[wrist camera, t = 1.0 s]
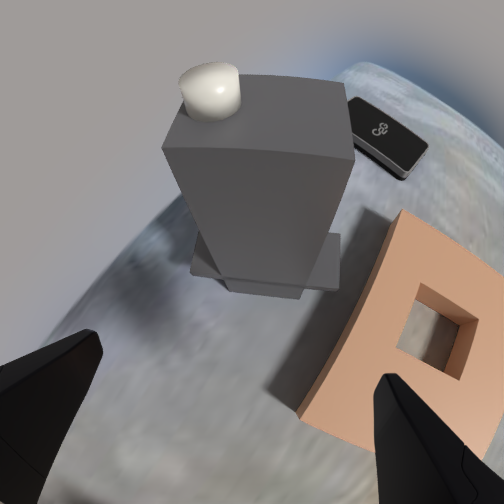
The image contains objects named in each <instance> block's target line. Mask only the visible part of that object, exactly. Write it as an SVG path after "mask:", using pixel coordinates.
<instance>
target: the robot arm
mask: <svg viewBox="0 0 504 504" xmlns="http://www.w3.org/2000/svg"><path fill="white" fill-rule="evenodd" d="M102 356H103V348H102V345H101V342H100V339H99V336H98V334H97V332H95V331H93V330H89V329H84V330H82V331H80V332H77V333H75V334H73V335H71V336H68V337H66V338H64V339H61V340H59V341H57V342H55V343H52V344H50V345H48V346H45V347H43V348H41V349H39V350H36V351H34V352H32V353H30V354H28V355H25V356H23V357H20V358H18V359H16V360H14V361H11V362H9V363H7V364H5V365H2V366H0V504H37V502H38V499H39V496H40V494H41V491H42V489H43V486H44V484H45V481H46V478H47V476H48V474H49V471H50V469H51V467H52V464H53V462H54V460H55V458H56V455H57V453H58V451H59V449H60V447H61V444H62V442H63V440H64V438H65V436H66V434H67V432H68V430H69V428H70V426H71V424H72V422H73V419H74V417H75V415H76V414H77V412H78V410H79V408H80V406H81V404H82V402H83V400H84V398H85V396H86V394H87V392H88V390H89V387H90V385H91V383H92V380H93V378H94V375H95V373H96V370H97V368H98V366H99V363H100V361H101V359H102ZM373 409H374V446H375V455H376V466H377V478H378V492H379V504H504V480H503V479H502V478H501V477H499V476H498V475H497V474H496V473H495V472H493V471H492V470H491V469H490V468H489V467H488V466H487V465H486V464H485V463H483V462H482V461H481V460H480V459H479V458H478V457H477V456H476V455H475V454H474V453H473V452H472V451H471V450H470V448H469V447H468V446H467V445H464V442H463V441H462V440H461V439H460V438H459V437H458V436H457V435H456V434H455V433H454V432H453V431H452V430H451V429H450V427H449V426H448V425H447V424H446V423H445V422H444V421H443V420H442V419H441V418H440V417H439V416H438V415H437V414H436V413H435V412H434V411H433V410H432V409H431V408H430V407H429V406H428V405H427V404H426V403H425V402H424V401H423V399H422V398H421V397H420V396H419V395H418V394H417V393H416V392H415V391H414V390H413V389H412V388H411V387H410V386H409V385H408V384H407V383H406V382H405V381H404V380H403V379H402V378H401V377H400V376H399V375H398V374H397V373H384V374H383V375H382V377H381V379H380V381H379V383H378V384H377V386H376V388H375V391H374V394H373Z"/></svg>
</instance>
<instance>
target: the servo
mask: <svg viewBox="0 0 504 504" xmlns="http://www.w3.org/2000/svg"><path fill="white" fill-rule="evenodd" d="M179 86H180V90H181V93H182V97H183V100H184V101H183V103H182V105H181V107H180V109H179V111H178V113H177V115H176V117H175V119H174V121H173V123H172V125H171V128H170V130H169V132H168V134H167V137H166V139H165V141H164V143H163V145H162V150H163V152H164V155H165V156H166V159H167V161H168V163H169V166H170V168H171V170H172V173H173V175H174V177H175V179H176V181H177V183H178V186H179V188H180V190H181V192H182V194H183V197H184V199H185V201H186V203H187V205H188V207H189V209H190V212H191V214H192V216H193V218H194V220H195V222H196V224H197V226H198V228H199V232H198V237H197V241H196V245H195V250H194V254H193V259H192V263H191V268H190V273H191V274H192V276H199V277H206V278H214V279H222V280H224V281H225V283H226V285H227V287H228V289H229V291H230V292H237V293H245V294H253V295H262V296H271V297H280V298H290V299H300V297H301V294H302V292H303V290H304V289H313V290H323V291H334V292H337V290H338V289H339V279H340V234H337V233H329V232H328V231H329V229H330V226H331V224H332V221H333V219H334V216H335V214H336V211H337V209H338V206H339V203H340V201H341V198H342V196H343V193H344V190H345V188H346V185H347V182H348V179H349V177H350V174H351V171H352V168H353V166H354V163H355V153H354V144H353V137H352V130H351V123H350V116H349V110H348V104H347V98H346V93H345V87H344V83H340V82H333V81H326V80H318V79H310V78H300V77H289V76H274V75H238V70H237V68H236V67H235V66H233V65H231V64H228V63H222V62H212V63H206V64H202V65H198V66H196V67H193V68H191V69H189V70H188V71H186V72H185V73H184V74H183V75H182V76H181V77H180V79H179Z"/></svg>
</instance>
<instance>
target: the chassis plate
mask: <svg viewBox="0 0 504 504" xmlns="http://www.w3.org/2000/svg"><path fill="white" fill-rule="evenodd" d="M415 299H416V300H418V301H420V302H421V303H423V304H425V305H426V306H428V307H430V308H431V309H433V310H435V311H436V312H438V313H440V314H441V315H443V316H445V317H446V318H448V319H450V320H451V321H453V322H455V323H456V324H458V325H459V326H460V327H459V330H458V333H457V336H456V339H455V342H454V345H453V348H452V351H451V354H450V357H449V359H448V362H447V365H446V367H445V370H444V372H441V371H439V370H437V369H435V368H434V367H432V366H430V365H428V364H426V363H424V362H422V361H420V360H418V359H417V358H415V357H413V356H411V355H409V354H407V353H405V352H403V351H402V350H400V349H398V348H396V345H397V342H398V340H399V338H400V336H401V333H402V331H403V328H404V326H405V323H406V321H407V318H408V316H409V313H410V311H411V308H412V305H413V303H414V300H415ZM384 373H397V374H398V375H399V376H400V377H401V378H402V379H403V380H404V381H405V382H406V383H407V384H408V385H409V386H410V387H411V388H412V389H413V390H414V391H415V392H416V393H417V394H418V395H419V396H420V397H421V398H422V399H423V401H424V402H425V403H426V404H427V405H428V406H429V407H430V408H431V409H432V410H433V411H434V412H435V413H436V414H437V415H438V416H439V417H440V418H441V419H442V420H443V421H444V422H445V423H446V424H447V425H448V426H449V427H450V429H451V430H452V431H453V432H454V433H455V434H456V435H457V436H458V437H459V438H460V439H461V440H462V441H463V442H464V445H467V446H468V447H469V448H470V450H471V451H472V452H473V453H474V454H475V455H476V456H477V457H478V458H479V459H480V460H481V461H482V459H483V457H484V455H485V453H486V451H487V449H488V447H489V445H490V443H491V441H492V439H493V436H494V434H495V432H496V430H497V427H498V425H499V423H500V420H501V418H502V415H503V413H504V277H503V276H502V275H500V274H499V273H498V272H496V271H495V270H494V269H492V268H491V267H490V266H489V265H487V264H486V263H485V262H483V261H482V260H480V259H479V258H478V257H476V256H475V255H474V254H472V253H471V252H469V251H468V250H466V249H465V248H464V247H462V246H461V245H459V244H458V243H456V242H455V241H453V240H452V239H450V238H449V237H447V236H446V235H444V234H443V233H441V232H440V231H438V230H436V229H435V228H433V227H432V226H430V225H428V224H427V223H425V222H424V221H422V220H420V219H419V218H417V217H415V216H414V215H412V214H410V213H409V212H407V211H405V210H403V209H402V210H401V211H400V213H399V214H398V215H397V217H396V218H395V219H394V221H393V222H392V223H391V225H390V227H389V229H388V232H387V235H386V237H385V240H384V242H383V245H382V247H381V250H380V252H379V255H378V257H377V260H376V262H375V264H374V267H373V269H372V271H371V274H370V276H369V278H368V280H367V283H366V285H365V287H364V289H363V291H362V294H361V296H360V298H359V300H358V302H357V304H356V306H355V308H354V310H353V312H352V314H351V316H350V318H349V320H348V322H347V324H346V326H345V328H344V330H343V332H342V334H341V336H340V338H339V340H338V342H337V343H336V345H335V347H334V349H333V351H332V353H331V354H330V356H329V358H328V360H327V362H326V363H325V365H324V367H323V368H322V370H321V372H320V374H319V375H318V377H317V379H316V380H315V382H314V384H313V385H312V387H311V389H310V390H309V392H308V393H307V395H306V397H305V398H304V400H303V401H302V403H301V405H300V406H299V408H298V409H297V411H296V412H295V413H296V414H297V416H298V418H299V419H300V420H301V421H303V422H305V423H307V424H309V425H311V426H313V427H316V428H318V429H320V430H322V431H324V432H326V433H328V434H331V435H333V436H335V437H337V438H340V439H342V440H344V441H347V442H349V443H351V444H354V445H356V446H359V447H361V448H364V449H366V450H369V451H372V452H374V453H375V446H374V409H373V394H374V391H375V388H376V386H377V384H378V383H379V381H380V379H381V377H382V375H383V374H384Z"/></svg>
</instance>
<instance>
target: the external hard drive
mask: <svg viewBox="0 0 504 504" xmlns="http://www.w3.org/2000/svg"><path fill="white" fill-rule="evenodd" d="M347 104H348V110H349V116H350V123H351V130H352V137H353V144H354V147H356V148H357V149H359V150H360V151H361V152H363V153H364V154H366V155H367V156H368V157H370V158H371V159H372V160H374V161H375V162H377V163H378V164H379V165H380V166H382V167H383V168H384V169H386V170H387V171H388V172H390V173H391V174H392V175H393V176H395V177H396V178H397V179H398V180H401V181H403V180H405V179H406V178H407V177H408V176H409V174H410V173H411V172H412V171H413V169H414V168H415V167H416V165H417V164H418V162H419V161H420V160H421V159H422V158H423V156H424V155H425V154H426V152H427V150H428V148H429V144H428V143H427V142H426V141H425V140H423V139H422V138H421V137H419V136H418V135H417V134H415V133H414V132H413V131H411V130H410V129H408V128H407V127H406V126H404V125H403V124H401V123H400V122H398V121H397V120H395V119H394V118H393V117H391V116H390V115H388V114H386V113H385V112H383V111H382V110H380V109H379V108H377V107H375V106H374V105H372V104H371V103H369V102H367V101H366V100H364V99H362V98H361V97H358V96H354V97H352V98H351V99H349V100H348V101H347Z"/></svg>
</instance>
